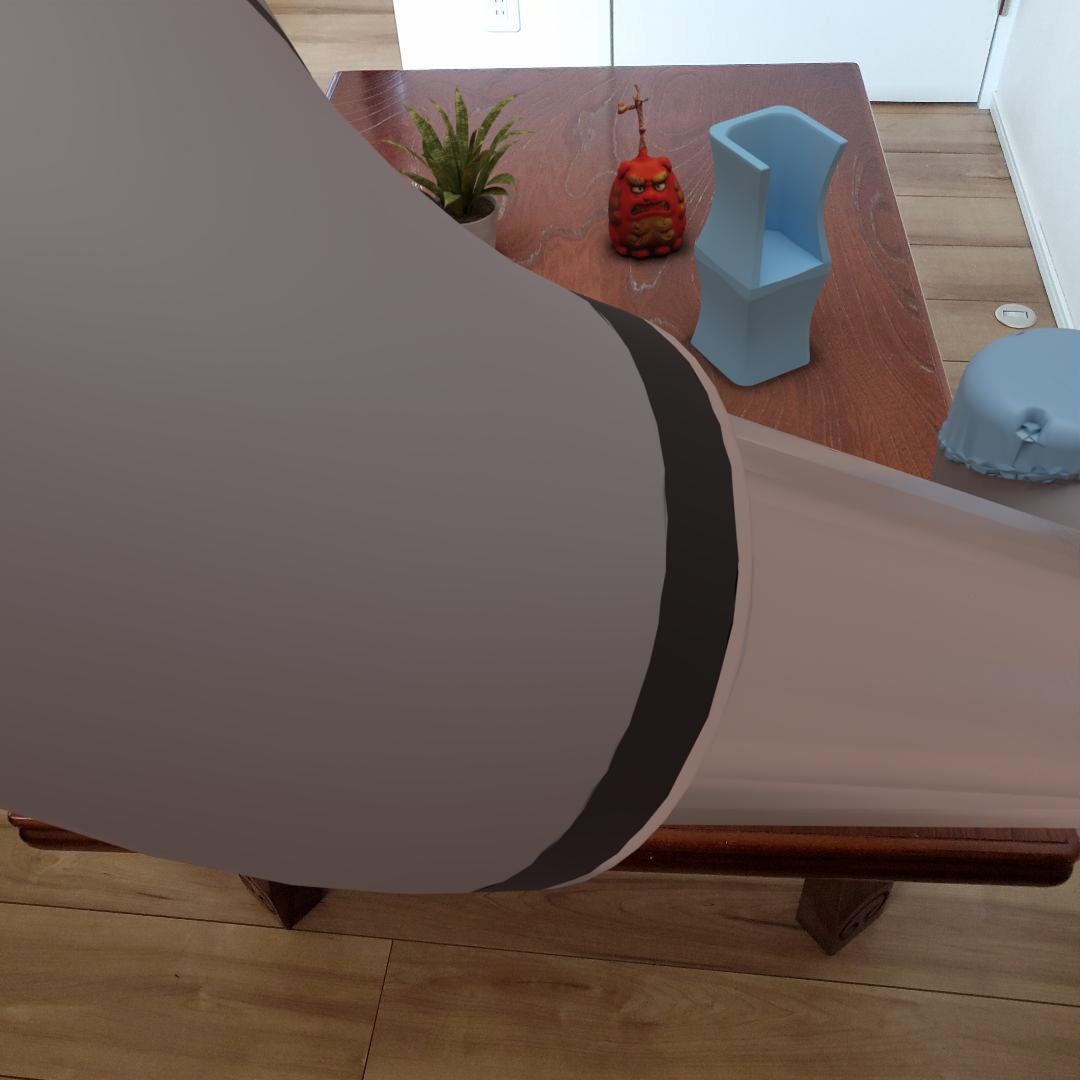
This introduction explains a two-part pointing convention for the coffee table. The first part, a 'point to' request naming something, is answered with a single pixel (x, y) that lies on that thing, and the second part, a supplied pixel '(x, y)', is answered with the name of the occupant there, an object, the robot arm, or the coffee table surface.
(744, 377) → the blue high-backed chair
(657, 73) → the coffee table surface
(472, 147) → the house plant
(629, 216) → the red clay folk toy
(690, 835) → the coffee table surface
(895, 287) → the coffee table surface
